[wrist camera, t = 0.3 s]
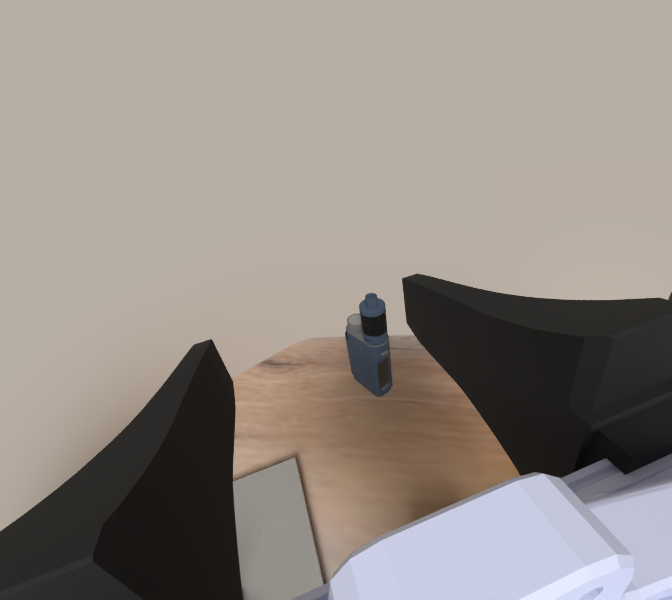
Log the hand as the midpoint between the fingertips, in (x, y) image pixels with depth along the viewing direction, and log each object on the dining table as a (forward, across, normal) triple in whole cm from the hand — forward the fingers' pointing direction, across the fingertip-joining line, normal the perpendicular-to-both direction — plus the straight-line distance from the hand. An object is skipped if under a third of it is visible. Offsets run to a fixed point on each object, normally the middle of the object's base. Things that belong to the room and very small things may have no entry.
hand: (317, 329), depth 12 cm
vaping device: (+16, -5, +20) cm, 26 cm away
